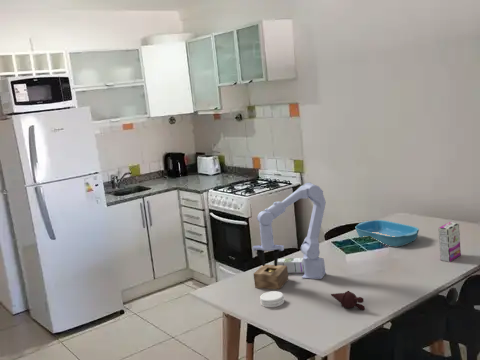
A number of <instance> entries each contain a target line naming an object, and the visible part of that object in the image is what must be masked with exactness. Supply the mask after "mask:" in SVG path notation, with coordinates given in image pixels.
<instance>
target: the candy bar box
mask: <svg viewBox="0 0 480 360" xmlns="http://www.w3.org/2000/svg"><path fill="white" fill-rule="evenodd" d="M460 235H461V234H460V222H454V221H449V222H447V223H445V224H444V225H441V226H440V227H438V239H439V252H440V253H439V254H440V255H439V256H440V261H441V262H448V263H451V262H453V261H454V260H456V259H457V258H458V257H460V256H461V255H462V254H461V253H462V252H461V250H462V249H461V237H460Z"/></svg>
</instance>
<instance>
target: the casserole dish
mask: <svg viewBox="0 0 480 360" xmlns="http://www.w3.org/2000/svg"><path fill="white" fill-rule="evenodd" d="M355 230H356V233H357V235H358V236H359V238H361V237H363V236H371V237H373V238H375V239H377V240H379V241H381V242H382V243H384V244H387V245H390V246H389V247H392V246H399V247H402V246H404V245H405V246H406V245H408V244H411V243H412V241H413V242H414V241H416V239H417V237H418V234H419V231H420V228H418V227H416V226H413V225H409V224H403V223H400V222H395V221H394V222H393V221H389V220H383V219H375V220H366V221H362V222H360V223H358V224H356V226H355ZM372 232H379V233H382V234H387V235H390V236H385V235H380V234H376V233H372ZM392 236H395V237H392ZM407 243H408V244H407ZM387 245H386V246H387Z"/></svg>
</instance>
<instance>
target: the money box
mask: <svg viewBox="0 0 480 360" xmlns="http://www.w3.org/2000/svg"><path fill="white" fill-rule="evenodd" d="M269 270H275V271H274V272H269ZM253 279H254V280H253V281H254V288H255V289H266V290H267V289H269V290H273V289H274V290H281V289H282V288H283V286H284V285H285V284H286V283H287V282H288V280H289V273H288V271H287V266H283V265H277V266H275V265H274V264H265V265H264V266H262V265H261V266H259V267H258V269H257V270H256V271H255V272H254V273H253Z"/></svg>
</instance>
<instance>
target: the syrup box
mask: <svg viewBox="0 0 480 360" xmlns="http://www.w3.org/2000/svg"><path fill="white" fill-rule="evenodd" d="M273 265H275V264H274V263H273ZM277 265H283V266H287V271H288V274H293V273H294V274H296V273H298V274H299V273H305V272H304V262H303V257H293V258H292V257H289V258H287V257H286V258H284V257H283V258H278V261H277Z"/></svg>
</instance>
